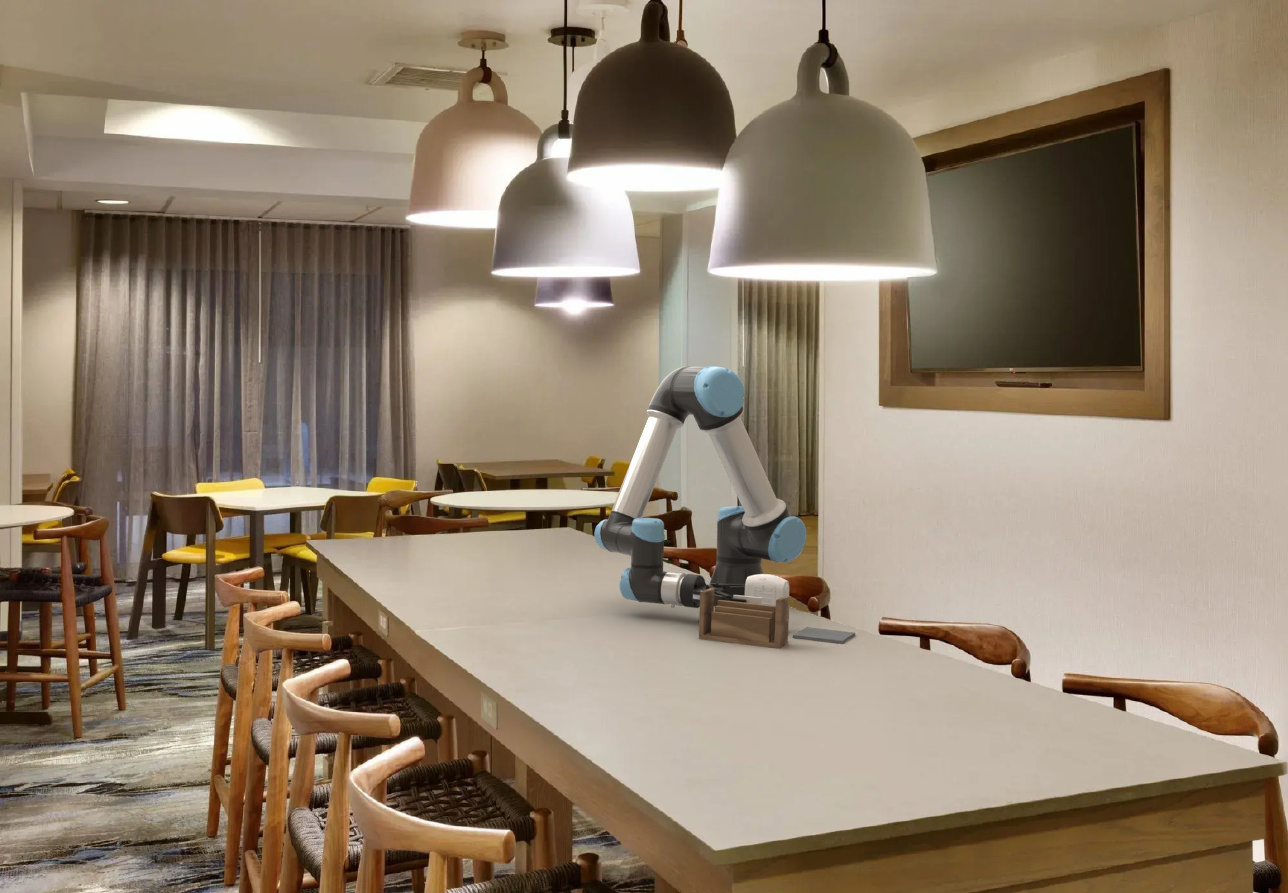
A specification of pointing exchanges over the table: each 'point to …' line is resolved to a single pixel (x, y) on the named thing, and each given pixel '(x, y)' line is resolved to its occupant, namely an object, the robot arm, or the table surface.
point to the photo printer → (766, 588)
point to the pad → (824, 635)
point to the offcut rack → (744, 621)
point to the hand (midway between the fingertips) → (772, 599)
